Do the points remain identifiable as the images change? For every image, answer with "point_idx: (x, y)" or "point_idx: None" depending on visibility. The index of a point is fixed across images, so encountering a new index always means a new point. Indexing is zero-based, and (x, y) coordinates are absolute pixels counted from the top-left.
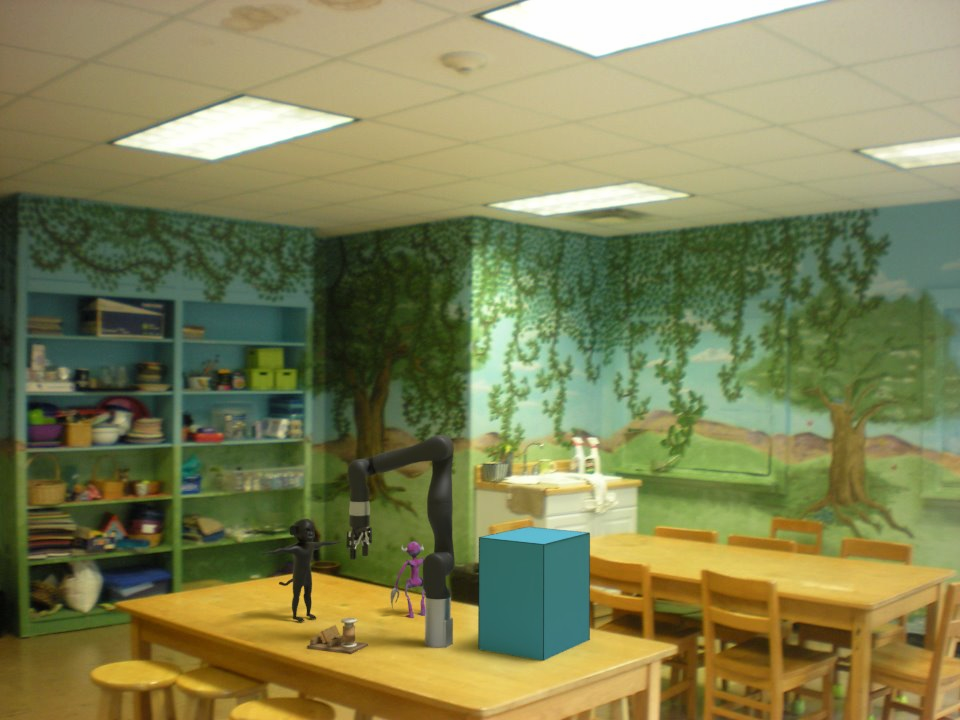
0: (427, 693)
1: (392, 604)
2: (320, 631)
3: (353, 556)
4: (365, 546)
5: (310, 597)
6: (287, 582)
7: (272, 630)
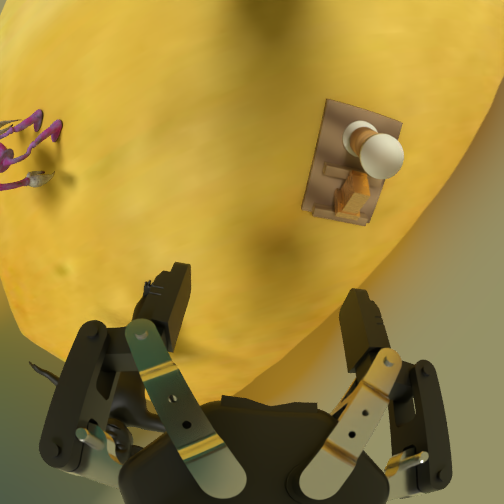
0: None
1: (52, 174)
2: (359, 217)
3: (377, 310)
4: (169, 331)
5: (137, 316)
6: None
7: (248, 311)
